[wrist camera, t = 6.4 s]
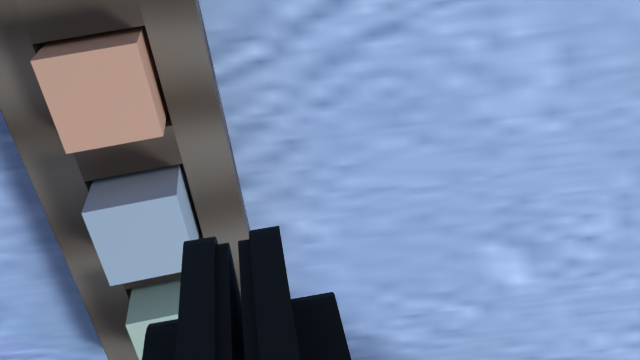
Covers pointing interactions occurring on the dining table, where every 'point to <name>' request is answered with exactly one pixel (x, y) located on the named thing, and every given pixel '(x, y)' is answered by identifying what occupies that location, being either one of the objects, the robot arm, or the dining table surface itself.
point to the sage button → (151, 309)
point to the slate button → (141, 223)
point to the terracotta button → (102, 89)
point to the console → (85, 166)
